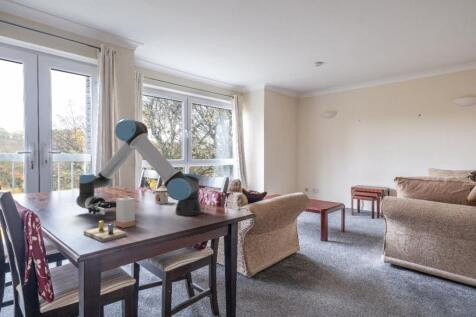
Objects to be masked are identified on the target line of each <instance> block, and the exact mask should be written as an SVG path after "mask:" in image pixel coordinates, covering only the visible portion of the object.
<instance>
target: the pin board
mask: <svg viewBox="0 0 476 317" xmlns="http://www.w3.org/2000/svg"><path fill="white" fill-rule="evenodd" d="M83 235H85V236H88V237H90V238H93V239H95V240H97V241H99V242H102V243H105V242H109V241H112V240H116V239H119V238H124V237H127V231H125V230H124V231H123V230H121V229H117V228H114V227H113V234H108V225H104V230H103V231H99V227H94V228H90V229H85V230H84V231H83Z"/></svg>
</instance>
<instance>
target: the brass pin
mask: <svg viewBox="0 0 476 317" xmlns="http://www.w3.org/2000/svg"><path fill="white" fill-rule="evenodd" d="M104 222H105V221H104V220H98V228H99V231H103V230H104V226H105V223H104Z"/></svg>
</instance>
